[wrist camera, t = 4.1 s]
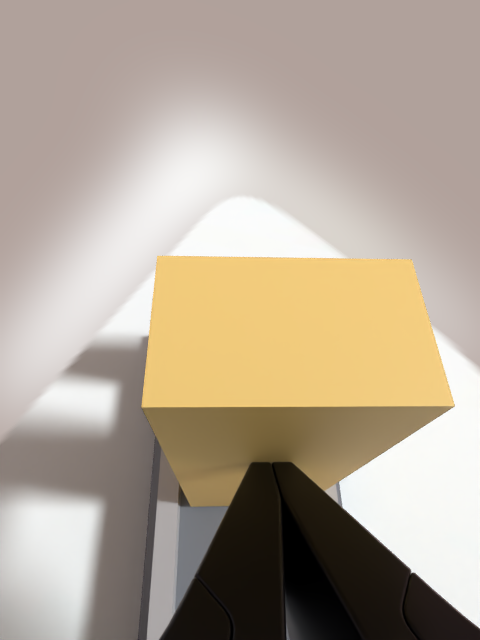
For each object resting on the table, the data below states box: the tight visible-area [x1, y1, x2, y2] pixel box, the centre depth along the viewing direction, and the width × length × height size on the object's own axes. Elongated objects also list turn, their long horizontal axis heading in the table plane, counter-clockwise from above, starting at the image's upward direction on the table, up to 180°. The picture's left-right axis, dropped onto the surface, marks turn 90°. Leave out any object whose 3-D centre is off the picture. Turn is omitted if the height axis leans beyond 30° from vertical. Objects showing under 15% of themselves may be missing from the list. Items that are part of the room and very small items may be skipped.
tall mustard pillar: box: [141, 256, 455, 507], centre depth 10 cm, size 2×4×11 cm, turn 91°
